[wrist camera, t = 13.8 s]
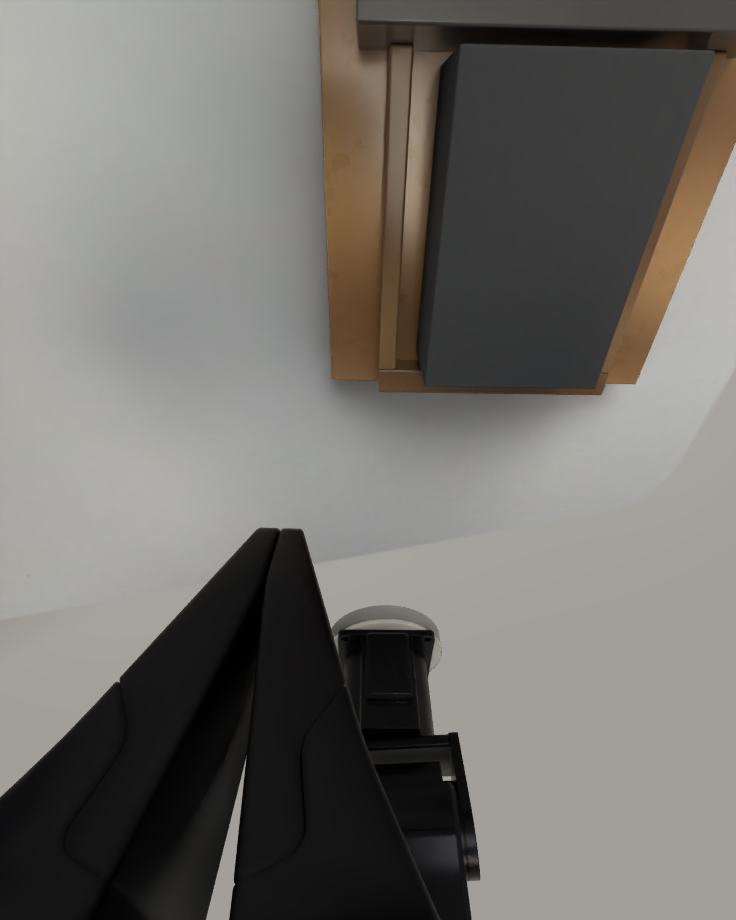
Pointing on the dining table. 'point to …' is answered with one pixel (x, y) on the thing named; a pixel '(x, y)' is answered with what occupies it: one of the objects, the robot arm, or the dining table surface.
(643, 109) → the loose pad
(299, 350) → the dining table surface
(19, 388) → the dining table surface
